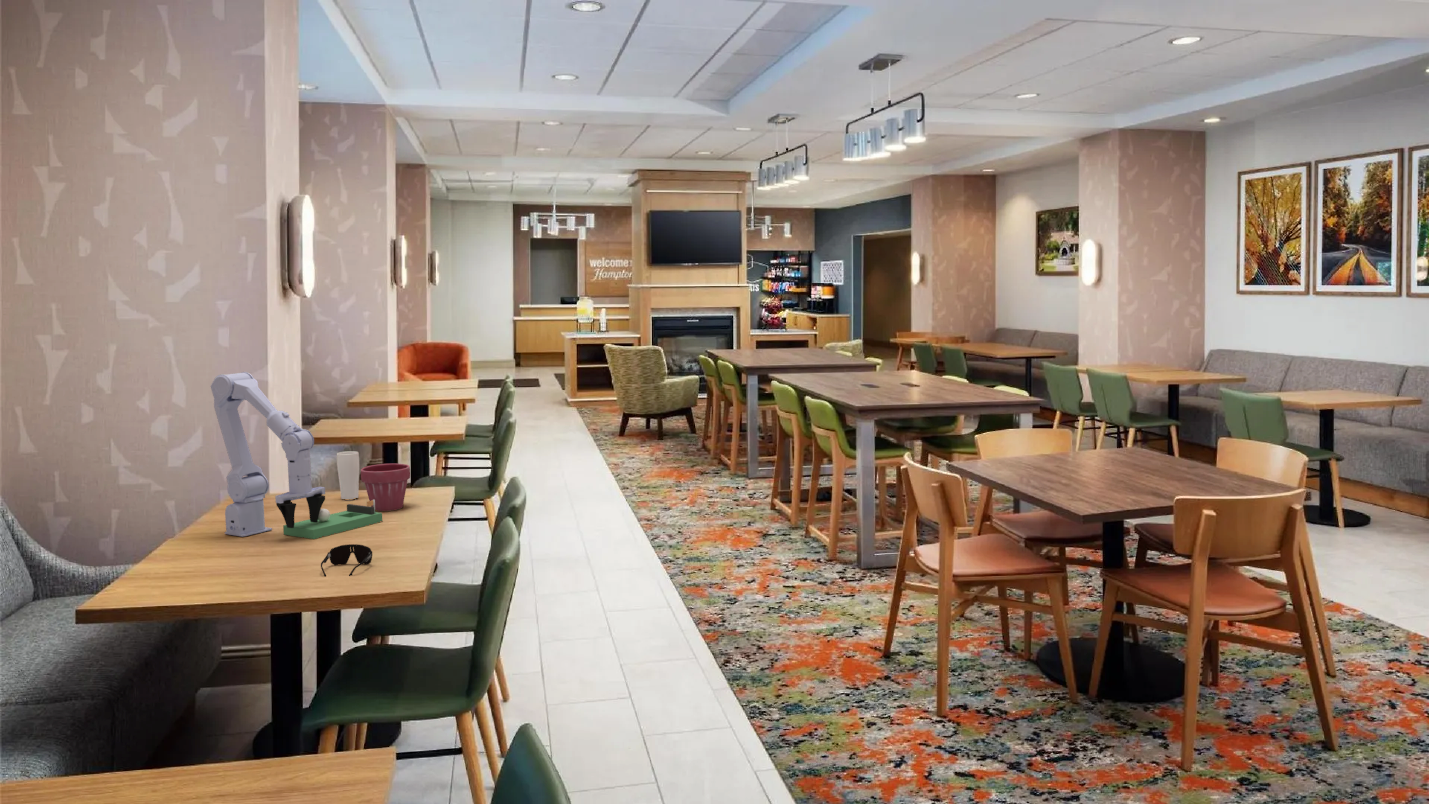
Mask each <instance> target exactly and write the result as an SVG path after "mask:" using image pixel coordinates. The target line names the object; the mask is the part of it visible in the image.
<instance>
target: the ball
mask: <svg viewBox="0 0 1429 804" xmlns="http://www.w3.org/2000/svg"><path fill="white" fill-rule="evenodd" d="M330 514H331V512H330V510H329V509H327V508H321V509H320V513H319V517H318V520H319V521H321V522H325V521H327V520H328V519H329V518H330Z"/></svg>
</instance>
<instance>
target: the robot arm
mask: <svg viewBox="0 0 1429 804" xmlns="http://www.w3.org/2000/svg"><path fill="white" fill-rule="evenodd" d="M210 389H211V393H212V396H213V408H214V411H215V416H216V419H217V422H218V425H219V428H220V432H221V436H222V438H223V442H224V446H225V449H226V451H227V456H228V460H229V463H230V465H231V470H230V472H229V473H228V474H227V476H226V478H225V479H226V481H227V494H228V497H229V498H230V499H231V500H232V503H230V504H227V506H226V508H225V511H224V512H225V513H224V515H225V517H224V518H225V519H224V520H225V529H226V530H225V531H224V535H228V536H229V535H230V536H237V537H241V538H242V537H247V536H252V535H256V534H260V533H265V532H269V531H272V530H273V527H267V526H265V525H266V522H265V505H264V502H265V501H264V499H265V498H266V494H267V493H268V491H269V489H270V483H269V480H268V478H267V477H266V476H265V474H264V473H263V469H262V467H260V466H259V465H258V464H255V463H254V461H253V458H252V457H253V456H252V455H251V454H252V453H251V451H250V447H249V443H248V441H247V438H246V434H245V433H246V432H245V430H244V427H243V423H242V420H241V417H240V412H239V410H238V409H239V407H240V405H241V404H242V402H244V401H247V402H248V403H249V404H250V405H251V406H253V408H255V410H257V411H258V412H259V413H260V414H261V415H262V416H263V417H265V419H266V426H267V427H268V429H270V430H271V432H273V433H274V435H275V436H276V437H277V438H278V439H279V440H280V441H281V443H280V444H281V448H282V450H283V451H284V454H285V458H286V460H287V473H288V491H287V492H284V493H282V494H276V495H275V496H274V497H275V504H276V507H277V508H278V509H279V511H280V513H281V514H282V517H283V519H284V523H285V525H286V526H287V528H294V523H295V512H296V507H297V503H294V502H293V501H296V500H300V499H306V503H307V506H308V511H309V512H308V513H309V515H308V516H309V519H310V521H311V522H315V523H316V522H318V517H319V513H320V509H322V506H323V504H324V502H325V500H326V487H325V486H317V487H313V486H312V485H313V484H312V468H311V467H312V465H311V463H312V462H311V449H313V447H314V445H315V437H314V436H313V434H312V433H311V431H310V430H308V429H303V428H302V427H301V426H300V425H298V424H297V423H296V422H295V421H294V420H293V419H292V418H291V417H290V414H289V412H287V411H285V410H278V409H277V408H276V407H275V406H274V405H273V403H272V402H271V400H270V399H269V398H268V397H267V395H265V393H264V392H263V390H261V389H260V387H259V382H258V380H257V379H256V378H254V376H253V375H252V374H251V373H249V372H248V371H243V372H237V373H228V374H226V373H225V374H224V373H222V374H218V375H216V376H215V378H214V379H213V381H212V383H211V384H210Z"/></svg>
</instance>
